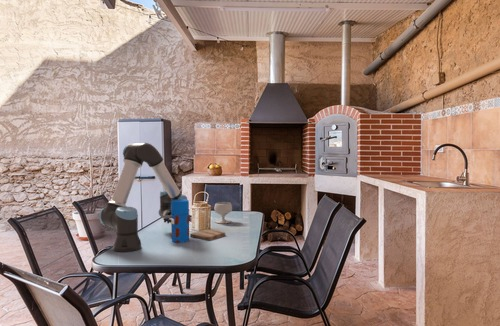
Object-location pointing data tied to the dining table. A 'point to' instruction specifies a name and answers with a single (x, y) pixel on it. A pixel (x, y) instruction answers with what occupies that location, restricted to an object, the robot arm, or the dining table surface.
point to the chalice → (223, 210)
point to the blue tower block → (180, 220)
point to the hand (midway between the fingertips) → (182, 220)
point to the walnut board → (207, 234)
